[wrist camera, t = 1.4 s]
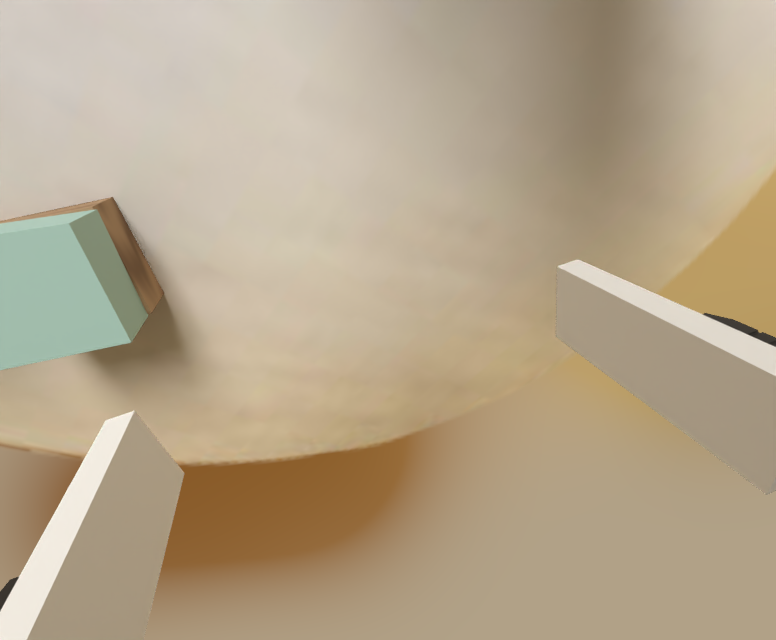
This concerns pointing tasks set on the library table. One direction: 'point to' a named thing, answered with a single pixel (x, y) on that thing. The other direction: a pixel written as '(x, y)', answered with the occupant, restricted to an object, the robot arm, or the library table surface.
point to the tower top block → (63, 289)
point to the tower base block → (118, 247)
